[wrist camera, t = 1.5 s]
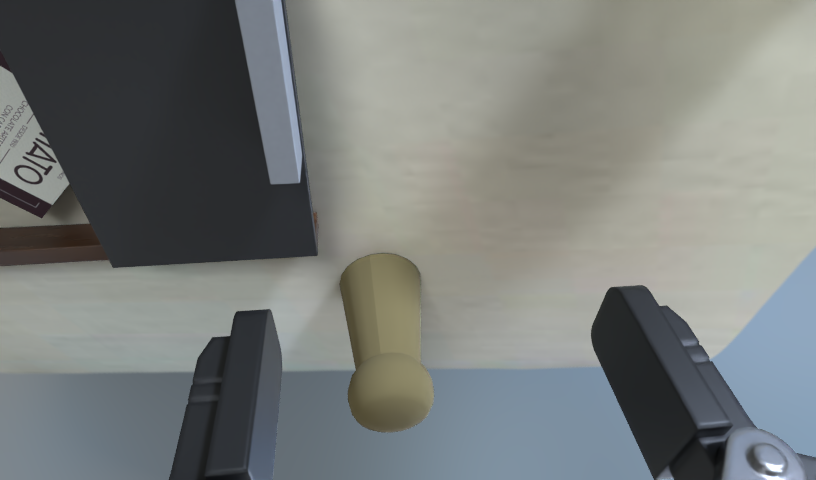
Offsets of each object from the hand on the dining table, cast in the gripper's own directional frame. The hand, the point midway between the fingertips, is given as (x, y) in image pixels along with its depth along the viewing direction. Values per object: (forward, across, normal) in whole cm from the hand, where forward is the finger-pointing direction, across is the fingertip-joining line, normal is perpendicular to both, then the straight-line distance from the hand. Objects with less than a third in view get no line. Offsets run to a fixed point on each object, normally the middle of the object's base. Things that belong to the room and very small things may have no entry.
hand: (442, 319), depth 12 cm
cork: (+18, 0, +18) cm, 25 cm away
